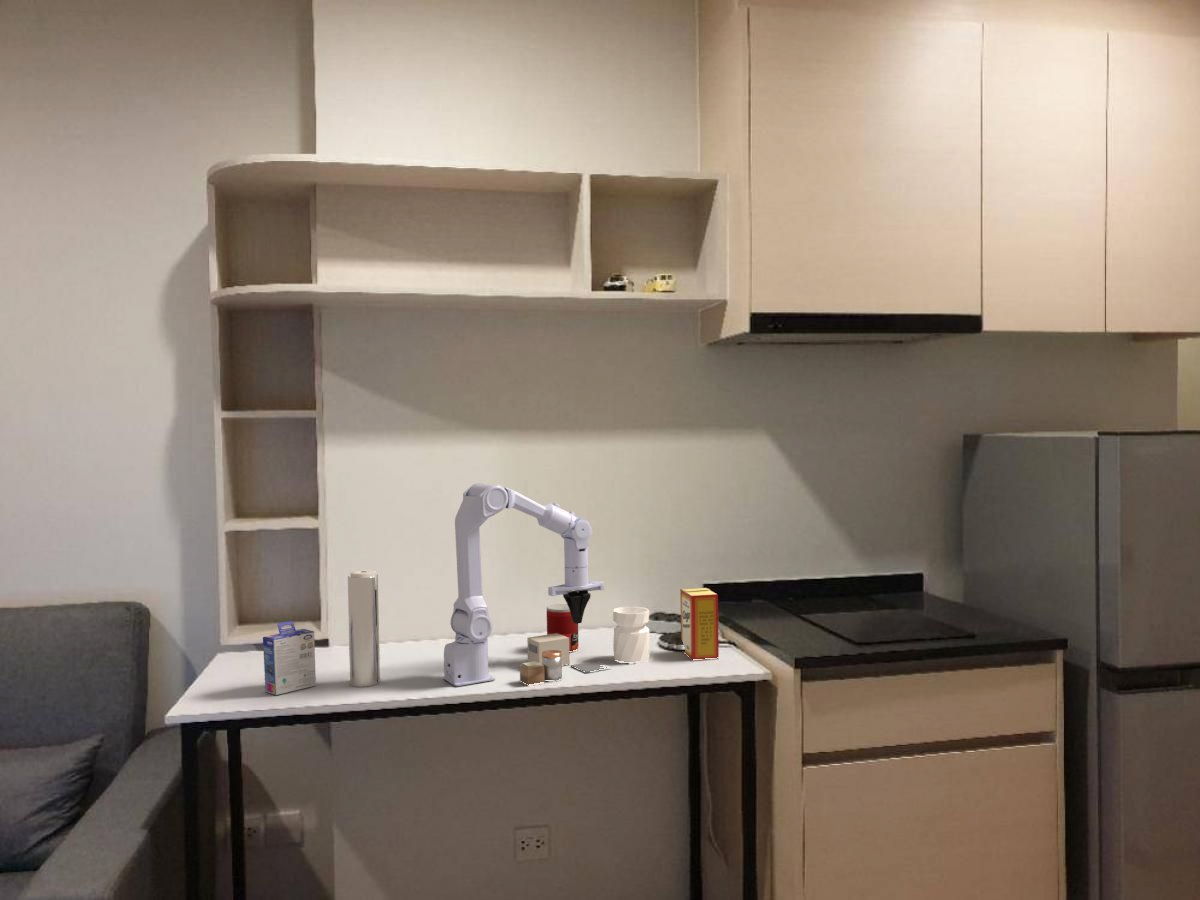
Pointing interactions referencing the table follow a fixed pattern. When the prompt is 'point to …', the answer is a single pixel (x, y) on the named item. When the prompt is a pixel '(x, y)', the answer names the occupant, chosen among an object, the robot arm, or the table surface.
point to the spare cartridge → (552, 664)
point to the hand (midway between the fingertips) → (577, 622)
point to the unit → (548, 647)
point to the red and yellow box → (699, 623)
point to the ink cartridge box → (289, 660)
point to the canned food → (562, 624)
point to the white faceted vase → (631, 634)
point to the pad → (589, 666)
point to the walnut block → (531, 672)
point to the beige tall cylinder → (363, 628)
